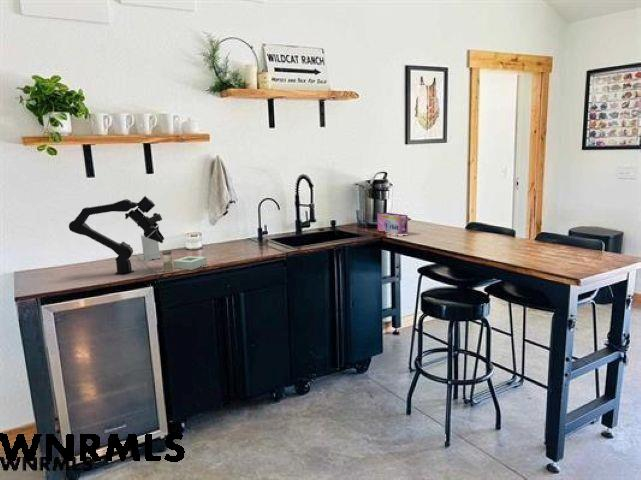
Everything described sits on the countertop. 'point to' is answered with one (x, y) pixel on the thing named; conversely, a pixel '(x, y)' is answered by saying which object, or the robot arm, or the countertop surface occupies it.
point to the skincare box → (150, 248)
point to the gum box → (393, 223)
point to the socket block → (189, 262)
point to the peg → (167, 261)
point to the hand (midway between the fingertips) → (163, 241)
